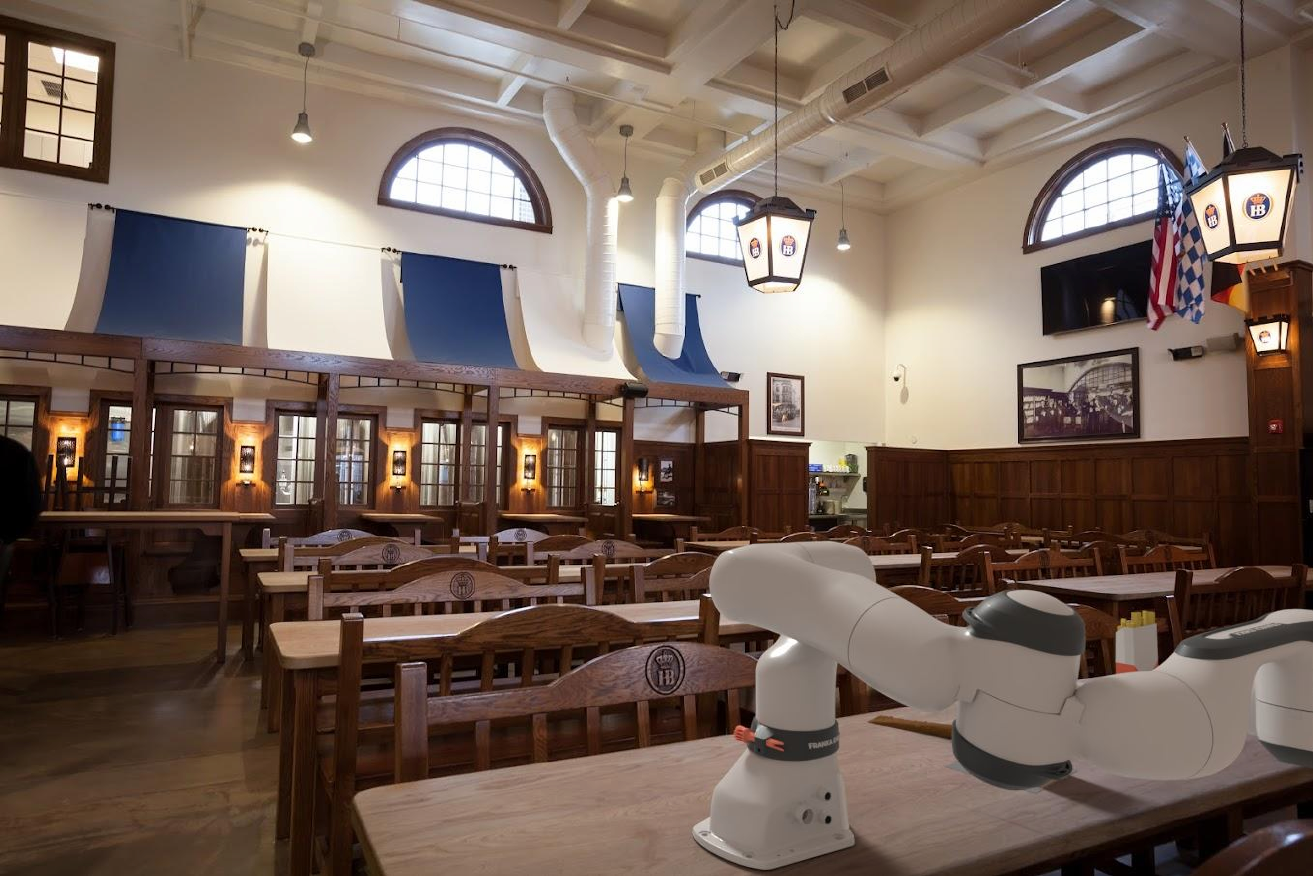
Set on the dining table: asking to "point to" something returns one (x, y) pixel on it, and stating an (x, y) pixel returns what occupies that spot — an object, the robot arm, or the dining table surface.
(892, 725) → the primitive tool
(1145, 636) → the french fries container
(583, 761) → the dining table surface
